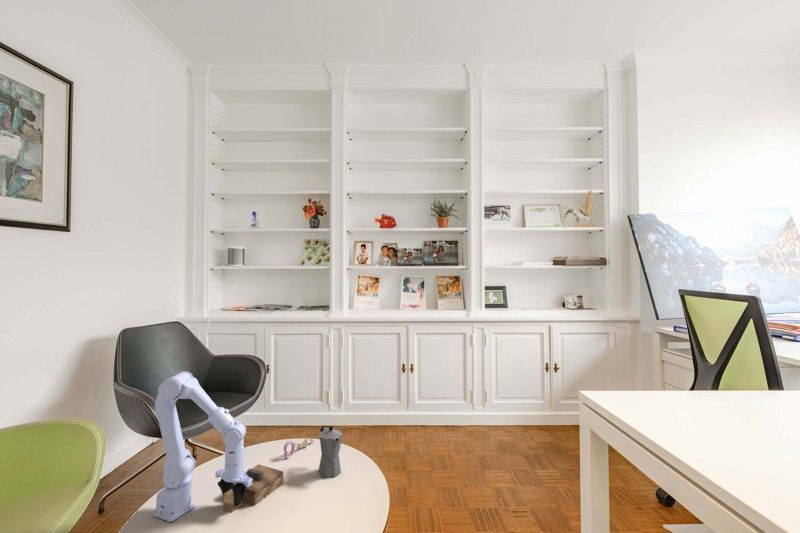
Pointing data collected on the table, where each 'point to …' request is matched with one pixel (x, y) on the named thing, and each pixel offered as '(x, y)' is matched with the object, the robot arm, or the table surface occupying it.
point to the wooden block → (230, 501)
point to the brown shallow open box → (262, 492)
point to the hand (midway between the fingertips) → (232, 502)
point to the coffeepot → (330, 452)
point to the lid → (261, 477)
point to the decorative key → (295, 447)
